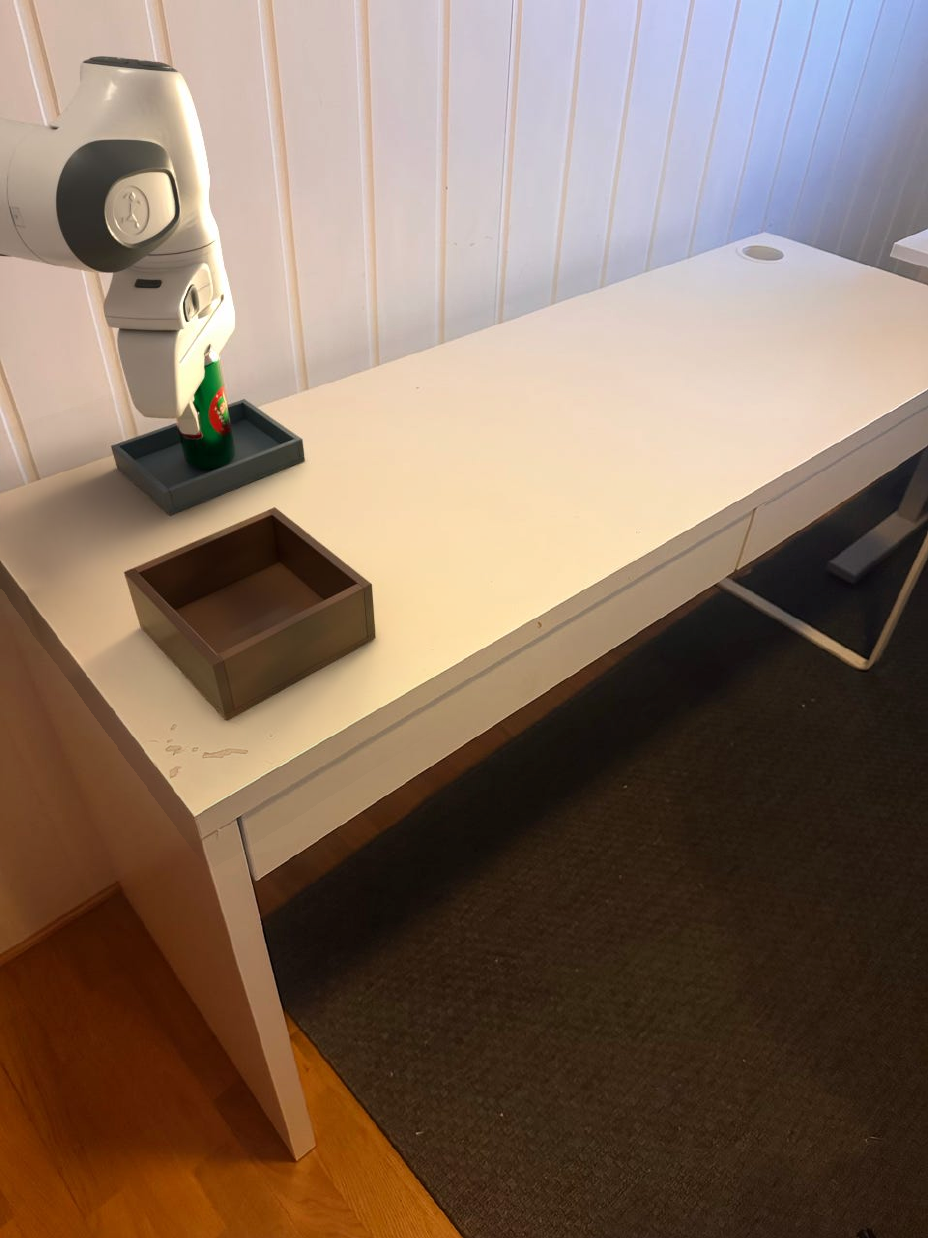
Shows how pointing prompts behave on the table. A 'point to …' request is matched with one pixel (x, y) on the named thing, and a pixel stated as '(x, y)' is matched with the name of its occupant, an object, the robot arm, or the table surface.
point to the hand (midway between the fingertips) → (201, 414)
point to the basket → (252, 609)
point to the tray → (181, 486)
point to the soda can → (210, 421)
